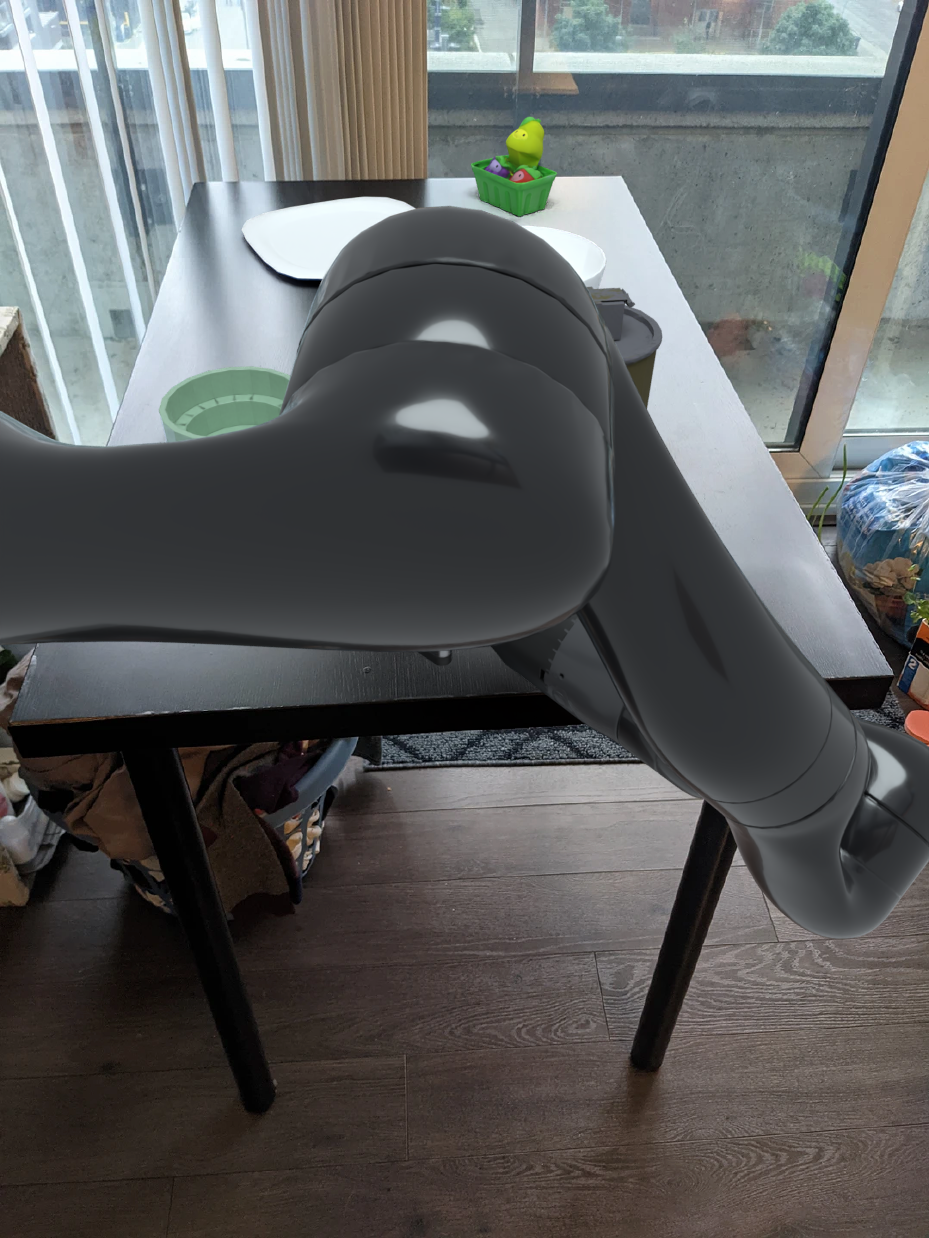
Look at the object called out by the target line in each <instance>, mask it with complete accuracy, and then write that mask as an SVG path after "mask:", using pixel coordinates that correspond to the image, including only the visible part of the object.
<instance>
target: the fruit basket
mask: <svg viewBox="0 0 929 1238" xmlns="http://www.w3.org/2000/svg"><path fill="white" fill-rule="evenodd" d="M541 123H542V120H541V119H540V118H534V117H533V116H526V117H525V118H524V119H523V120H522V122H521V123H520V125H519V126H518V128H517V129H515V130H514V131H513V132H511V133H510V134H509V135H508V137H507V138H506V140H505V146H506V150H507V153H508V154H504V155H495V156H493V157H490V158H486V159H485V158H484V159H482V160H477V161H475V162H472V163H471V164H470V167H471V170H472V173H473V176H474V179H475V184H476V187H477V188H476V189H477V193H478V196H479V200H480V201H482V202H484V203H487V204H490V205H491V206H494V207H496V208H499V209H501V210H503V211H504V212H505V211H506V212H508V213H511V214H513V215H515V216H517V217H523V216H524V215H530V214H532V213H536V212H538V211H540V210H541V211H542V210H545V208H546V205H547V202H548V199H549V196H550V193H551V189H552V187H553V183H554V182H555V180H556V177H557V175H558V172H557V171H554V170H552V169H550V168H547V167H545V166H542V165H540V164H539V162H540V161H541V159H542V157H543V153H544V139H545V129H544V127H543V126H542V125H541Z"/></svg>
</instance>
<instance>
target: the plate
mask: <svg viewBox="0 0 929 1238" xmlns="http://www.w3.org/2000/svg"><path fill="white" fill-rule="evenodd" d="M413 209H416V207H414V206H412V205H411V204H408V203H407V202H405V201H402V200H400V199H399V200H398V199H394V198H390V197H387V196H359V197H349V198H340V199H334V200H333V199H332V200H326V201H321V202H319V201H318V202H314V203H308V204H302V205H295V206H289V207H284V208H280V209H275V210H270V211H265V212H262V213H260V214H258V215H256V216H253V217H251V218H249V219H247V220H245V222H244V223H243V226H242V227H241V232H242V235H243V237H244V239H245V241H246V243H247V244H248V245H249V246H250V248H251V249H252V250H253V251H254V253H256V255H257V256H259V258H260V259H261V260H262V262H263V263H264V264H265V265H267V266H268V267H269V268H271V269H272V270H273V271H275V272H276V273H277V274H279V275H282V276H286V277H288V278H291V279H294V280H297V281H322V279H323V277H324V275H325V274H326V272H327V271H328V269H329V268H330V266H331V265H332V263H333V262H334V260H335V259H336V257H337V256H338V254H339V253H340V251H341V250H342V249H343V248H344V247H345V246H346V245H347V244H348V243H349V242H350V241H351V240H352V239H353V238H354V237H356V236H357V235H358V234H359V233H360V232H362V231H364V230H366V229H367V228H369V227H371V226H373V225H375V224H376V223H378V222H380V221H382V220H384V219H385V218H387V217H389V216H392V215H396V214H399V213H402V212H406V211H409V210H413Z"/></svg>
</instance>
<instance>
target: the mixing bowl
mask: <svg viewBox="0 0 929 1238" xmlns="http://www.w3.org/2000/svg"><path fill="white" fill-rule="evenodd" d="M290 375H291V374H289V373H285V372H282V371H279V370H276V369H273V368H269V367H261V366H254V365H253V366H252V365H251V366H227V367H221V368H217V369H210V370H207V371H204V372H201V373H198V374H195V375H191V376H189V377H187V378H185V379H183V380H182V381H180V382H179V383H177V384H175V385H174V386H172V387H171V388H170V389H169V390H168V391H167V392H166V393H165V394H164V395H163V396H162V397H161V400H160V404H159V408H158V414H159V418H160V421H161V422H160V423H161V427H162V431H163V435H164V439H165V442H174V441H181V440H188V439H195V438H201V437H208V436H214V435H219V434H224V433H228V432H233V431H238V430H243V429H246V428H250V427H253V426H256V425H260V424H263V423H265V422H267V421H270V420H272V419H274V418H276V417H278V416H279V414H280V410H281V407H282V403H283V400H284V396H285V393H286V389H287V386H288V382H289V378H290Z"/></svg>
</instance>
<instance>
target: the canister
mask: <svg viewBox="0 0 929 1238" xmlns="http://www.w3.org/2000/svg"><path fill="white" fill-rule="evenodd" d="M587 289H588V291H589V292H590V294H591V296H592V298H593V300H594V301H595V303H596V305H597V307H598V309H599V311H600V313H601V315H602V317H603V319H604V321H605V323H606V325H607V327H608V329H609V331H610V333H611V335H612V337H613V339H614V341H615V343H616V345H617V347H618V349H619V352H620V354H621V356H622V358H623V360H624V362H625V364H626V366H627V368H628V370H629V372H630V375H631V377H632V379H633V381H634V383H635V385H636V387H637V389H638V391H639V393H640V396H641V398H642V400H643V402H644V404H645V406H646V408H647V409H648V406H649V399H650V394H651V386H652V381H653V375H654V368H655V362H656V356H657V350H658V349H660V346H661V344H662V341H663V331H662V328H661V327H660V325H659V323H658V321H656V320H655V319H654V318H653V317H651V316H650V315H649V314H647V313H645V312H644V311H642V310H640V309H638V308H635V306H636V303H635V301H633V300H632V299H631V297H630V294H629V293H628V292H626V290H625V289H624V288H621V287H606V288H605V287H604V288H599V289H593V287H587Z"/></svg>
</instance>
